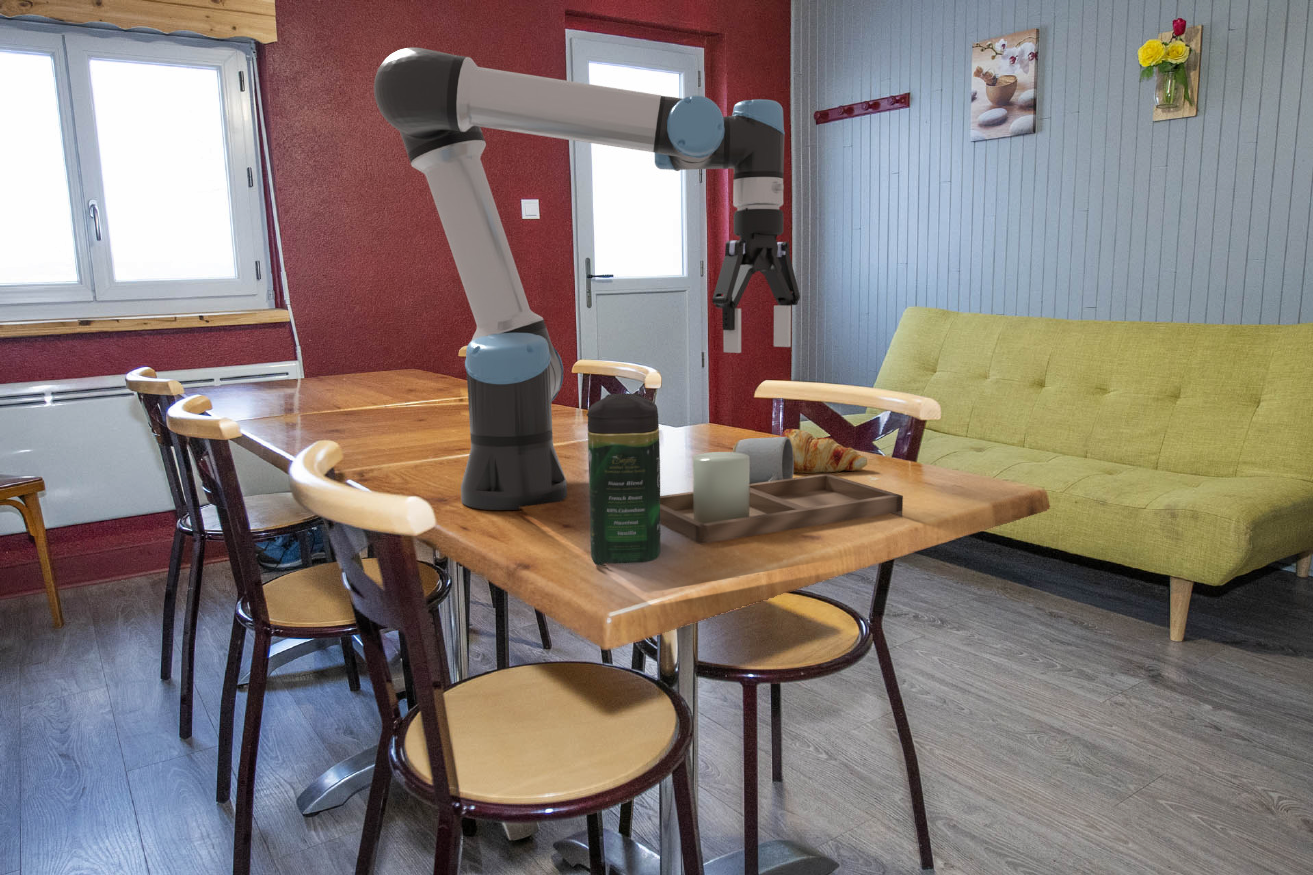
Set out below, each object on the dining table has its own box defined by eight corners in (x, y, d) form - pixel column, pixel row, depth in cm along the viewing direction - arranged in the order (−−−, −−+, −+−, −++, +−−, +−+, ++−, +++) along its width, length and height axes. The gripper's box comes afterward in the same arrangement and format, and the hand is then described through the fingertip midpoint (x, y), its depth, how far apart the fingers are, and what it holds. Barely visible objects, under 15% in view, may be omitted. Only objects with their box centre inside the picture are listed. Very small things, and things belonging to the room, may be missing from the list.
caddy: (699, 552, 107) (699, 526, 106) (640, 521, 121) (639, 498, 120) (902, 518, 119) (902, 495, 119) (827, 494, 134) (827, 473, 133)
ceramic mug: (742, 480, 144) (741, 431, 143) (794, 483, 141) (794, 433, 140) (723, 496, 134) (722, 444, 133) (778, 500, 132) (778, 446, 130)
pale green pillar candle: (710, 529, 112) (710, 464, 111) (683, 517, 118) (682, 455, 117) (760, 522, 115) (760, 458, 114) (731, 510, 121) (730, 449, 120)
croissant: (868, 489, 152) (872, 443, 154) (863, 472, 143) (867, 422, 145) (741, 480, 158) (746, 436, 161) (728, 463, 149) (734, 416, 152)
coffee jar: (662, 571, 100) (658, 399, 97) (588, 572, 100) (582, 401, 97) (661, 545, 110) (658, 388, 107) (594, 547, 110) (589, 390, 107)
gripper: (730, 203, 129) (730, 356, 133) (822, 211, 148) (820, 345, 152) (687, 206, 134) (689, 354, 138) (782, 213, 153) (781, 343, 156)
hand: (758, 349), depth 145 cm, fingers open, 13 cm apart
